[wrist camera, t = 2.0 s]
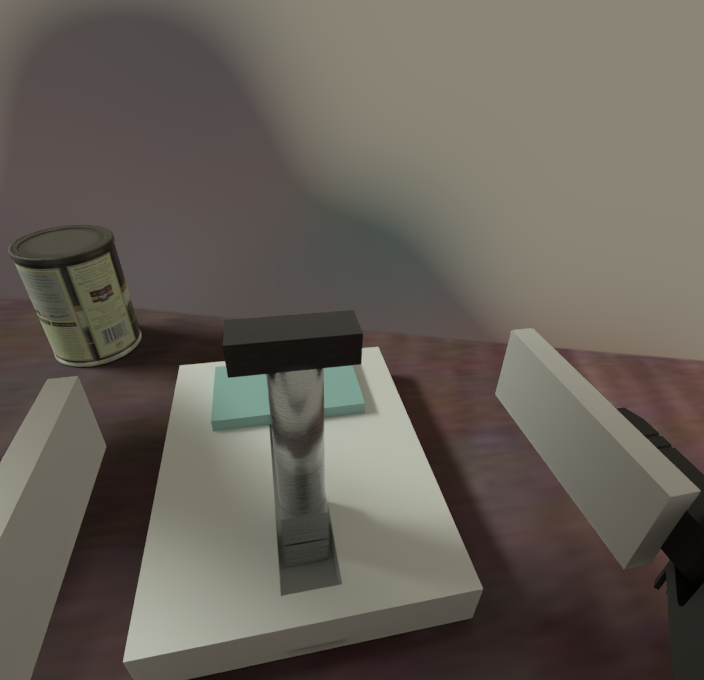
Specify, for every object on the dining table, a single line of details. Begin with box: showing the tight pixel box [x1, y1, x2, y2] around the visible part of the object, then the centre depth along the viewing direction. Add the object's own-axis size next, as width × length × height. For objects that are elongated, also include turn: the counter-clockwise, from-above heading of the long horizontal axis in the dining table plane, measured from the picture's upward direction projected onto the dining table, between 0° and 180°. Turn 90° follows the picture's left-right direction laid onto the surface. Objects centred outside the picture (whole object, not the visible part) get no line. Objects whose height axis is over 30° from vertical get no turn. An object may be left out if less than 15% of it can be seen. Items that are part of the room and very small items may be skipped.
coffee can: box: [8, 225, 142, 367], centre depth 54 cm, size 10×10×14 cm
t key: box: [223, 310, 363, 566], centre depth 29 cm, size 7×3×20 cm, turn 101°
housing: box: [123, 347, 483, 680], centre depth 40 cm, size 22×28×4 cm
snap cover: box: [211, 365, 365, 431], centre depth 44 cm, size 14×8×1 cm, turn 101°
